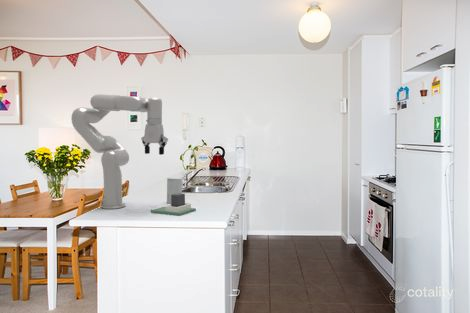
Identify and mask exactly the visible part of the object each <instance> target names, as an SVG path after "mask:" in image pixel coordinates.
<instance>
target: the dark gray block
mask: <svg viewBox="0 0 470 313" xmlns="http://www.w3.org/2000/svg"><path fill="white" fill-rule="evenodd" d="M185 203H186V194H185V193H183V192H182V193H177V194H173V195H171V204H170V205H171V207H179V206H183V205H185Z"/></svg>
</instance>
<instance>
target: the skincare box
mask: <svg viewBox="0 0 470 313" xmlns="http://www.w3.org/2000/svg"><path fill="white" fill-rule="evenodd" d="M166 181H167V182H166V204H168V205H171V195H173V194H177V193H182V194H183V192H182V191H183V177H167V180H166Z"/></svg>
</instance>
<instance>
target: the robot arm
mask: <svg viewBox="0 0 470 313" xmlns="http://www.w3.org/2000/svg"><path fill="white" fill-rule="evenodd" d="M89 102H90V105H91V107H92V108H91V107H90V108H89V107H77V108H75V109H73V111H72V114H71V118H70V119H71V124H72V126H73V128H74V129H75V131H76V132H77V133H78V134H79V135H80V136H81V137H82V138H83V140H84V141H85V142H86V143H87V144H88V146H90V147H91V149H92V150H93V151H94V152H95V153H97V154H102V155H101V158H100V159H101V160H100V161H101V166H102V173H103V198H102V199H100V201H99V202H100V203H102V204H101V209H104V210H114V209H122V208H124V207H126V203H123V182H122V181H123V179H122V177H123V176H122V170H121V167H122V166H125V165H127V164H128V163H129V161H130V155H129V153H128V152H127V150H126V149H125V148H124V147H123V145H122V144H121V143H120V142H119V141H118V140H117V139H116V138H115V137H113V136H111V135H103V134H102V133H101V132H99V130H98V129H97V128H96V127H95V126H94V125H92V124H97V123H99V122H100V121H101V120H103V119H104V118H105V117H106V116H107V115H109V113H110V112H119V111H128V112H139V113H147V115H146V116H147V117H146V118H147V119H146V121H145V122H146V124H145V128H144V135H143V136H142V137H141V138H140V139H141V143H142V144H143V147H144V154H145V155H147V154H148V155H149V154H150V153H151V152H150V150H151V149H150V148H151V147H150V145H151V144H158V145H159V147H158V154H159V155H160V156H161V155H164V154H165V147H166V145H167V144H168V142H169V138H167V137H166V136H165V132H164V125H163V123H162V122H163V121H162V120H163V101H162V98H158V97H150V98H145V97H141V96H140V97H139V96H131V95H130V96H129V95H119V94H118V95H115V94H99V93H98V94H94V95H92V97H91V98H90V101H89Z"/></svg>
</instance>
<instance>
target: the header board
mask: <svg viewBox="0 0 470 313" xmlns="http://www.w3.org/2000/svg"><path fill="white" fill-rule="evenodd" d="M196 211H197V209H196V208H194V207H192V203H187V202H185V205H183V206H179V207H171V204H168V205H165V206H162V207H158V208H154V209H152V210H150V213H151V214H160V215H161V214H162V215H168V214H169V215H171V216H176V217H180V216H184V215H186V214H189V213H193V212H196Z"/></svg>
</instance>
